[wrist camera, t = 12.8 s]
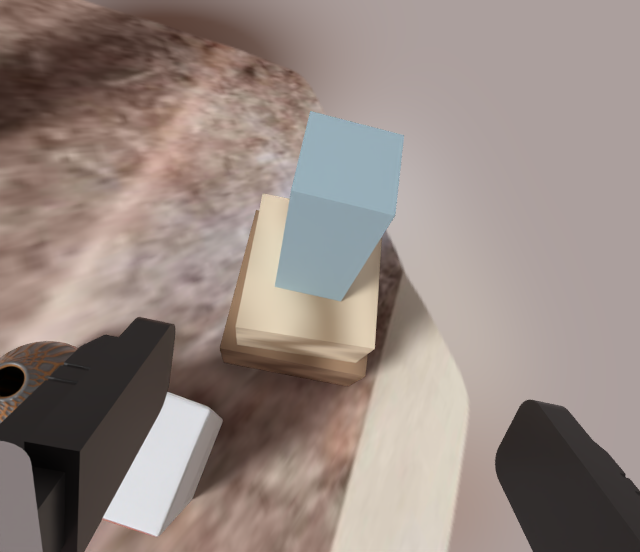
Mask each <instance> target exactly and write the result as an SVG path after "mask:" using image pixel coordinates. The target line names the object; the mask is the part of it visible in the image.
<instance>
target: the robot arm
mask: <svg viewBox="0 0 640 552" xmlns="http://www.w3.org/2000/svg"><path fill="white" fill-rule="evenodd" d="M174 340H175V325H174V324H170V323H165V322H161V321H156V320H151V319H146V318H141V317H138V318H136V319H135V320H134V321H133V322H132V323H131V324H130V325H129V327H128V328H127V329H126V330H125V331H124V332H123V333H122V334H121V335H120V336H119V337H114V336H109V335H103V336H101V337H99V338H97V339H95V340H93V341H91V342H88V343H86V344H84V345H82V346H80V347H79V348H78V349H77V350H76V351H75V352H74V353H73V354H72V355H71V356H70V357H69V358H68V359H67V360H66V361H65V362H64V364H63V366H60V367H59V368H58V369H57V370H55V371H54V372H53V373H52V374H51V375H50V376H49V379H48V380H45V381H44V382H43V383H42V384H41V385H40V386H39V387H38V388H37V389H36V390H35V391H34V392H33V393H32V394H31V395H30V396H28V397H27V398H26V399H25V400H24V401H23V402H22V403H21V404H20V405H19V406H18V407H17V408H16V409H15V410H14V411H13V412H12V413H11V414H10V415H9V416H8V417H7V418H6V419H5V420H4V421H3V422H1V423H0V552H84V551H85V549H86V548H87V546H88V544H89V542H90V540H91V538H92V537H93V535H94V533H95V531H96V529H97V527H98V526H99V524H100V522H101V520H102V518H103V516H104V515H105V513H106V511H107V509H108V507H109V505H110V503H111V502H112V500H113V498H114V496H115V494H116V492H117V491H118V489H119V487H120V485H121V483H122V481H123V480H124V478H125V476H126V474H127V472H128V470H129V469H130V467H131V465H132V463H133V461H134V459H135V458H136V456H137V454H138V452H139V450H140V448H141V446H142V445H143V443H144V441H145V439H146V437H147V435H148V434H149V432H150V430H151V428H152V426H153V424H154V423H155V421H156V419H157V417H158V415H159V413H160V411H161V409H162V407H163V404H164V401H165V398H166V395H167V391H168V387H169V380H170V372H171V364H172V356H173V348H174ZM495 466H496V473H497V477H498V479H499V482H500V484H501V486H502V488H503V490H504V492H505V494H506V496H507V498H508V500H509V502H510V504H511V507H512V508H513V511H514V513H515V515H516V517H517V519H518V521H519V523H520V525H521V528H522V530H523V532H524V534H525V536H526V538H527V540H528V542H529V544H530V546H531V548H532V550H533V552H640V491H639V489H638V488H637V487H636V486H635V485H634V483H633V482H632V481H631V480H630V479H629V478H626V477H625V473H624V472H623V470H622V469H621V468H620V467H619V466H618V465H617V463H616V462H615V461H614V460H613V459H612V457H611V456H610V455H609V454H608V453H607V452H606V451H605V450H604V449H603V448H601V447H600V446H599V445H598V444H597V443H595V442H594V441H593V440H592V439H591V438H590V436H589V435H588V434H587V433H586V432H585V430H584V429H583V428H582V427H581V425H580V424H579V423H578V422H577V421H576V420H575V418H574V417H573V416H572V415H571V413H570V412H569V411H568V410H567V409H566V408H564V407H562V406H559V405H554V404H549V403H544V402H540V401H535V400H527V401H525V402H523V404H521V406H520V407H519V409H518V411H517V413H516V415H515V417H514V419H513V421H512V423H511V425H510V426H509V428H508V430H507V432H506V434H505V436H504V438H503V440H502V442H501V444H500V446H499V448H498V450H497V453H496V460H495Z"/></svg>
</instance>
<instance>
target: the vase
mask: <svg viewBox="0 0 640 552" xmlns="http://www.w3.org/2000/svg"><path fill="white" fill-rule="evenodd" d="M77 349H78V348H77V347H74V346H72V345H69V344H66V343H61V342H53V341H44V342H35V343H30V344H26V345H23V346H20V347H18V348H16V349H13V350H12V351H10V352H8V353H6V354H5V355H3V356H2V357H1V358H0V423H1V422H3V421H4V420H5V419H6V418H7V417H8V416H9V415H10V414H11V413H12V412H13V411H14V410H15V409H16V408H17V407H18V406H19V405H20V404H21V403H22V402H23V401H24V400H25V399H26V398H27V397H28V396H30V395H31V394H32V393H33V392H34V391H35V390H36V389H37V388H38V387H39V386H40V385H41V384H42V383H43V382H44V381H45V380H48V379H49V376H50V375H51V374H52V373H53V372H54V371H55V370H57V369H58V368H59V367H60V366H63V364H64V362H65V361H66V360H67V359H68V358H69V357H70V356H71V355H72V354H73V353H74V352H75V351H76V350H77Z"/></svg>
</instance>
